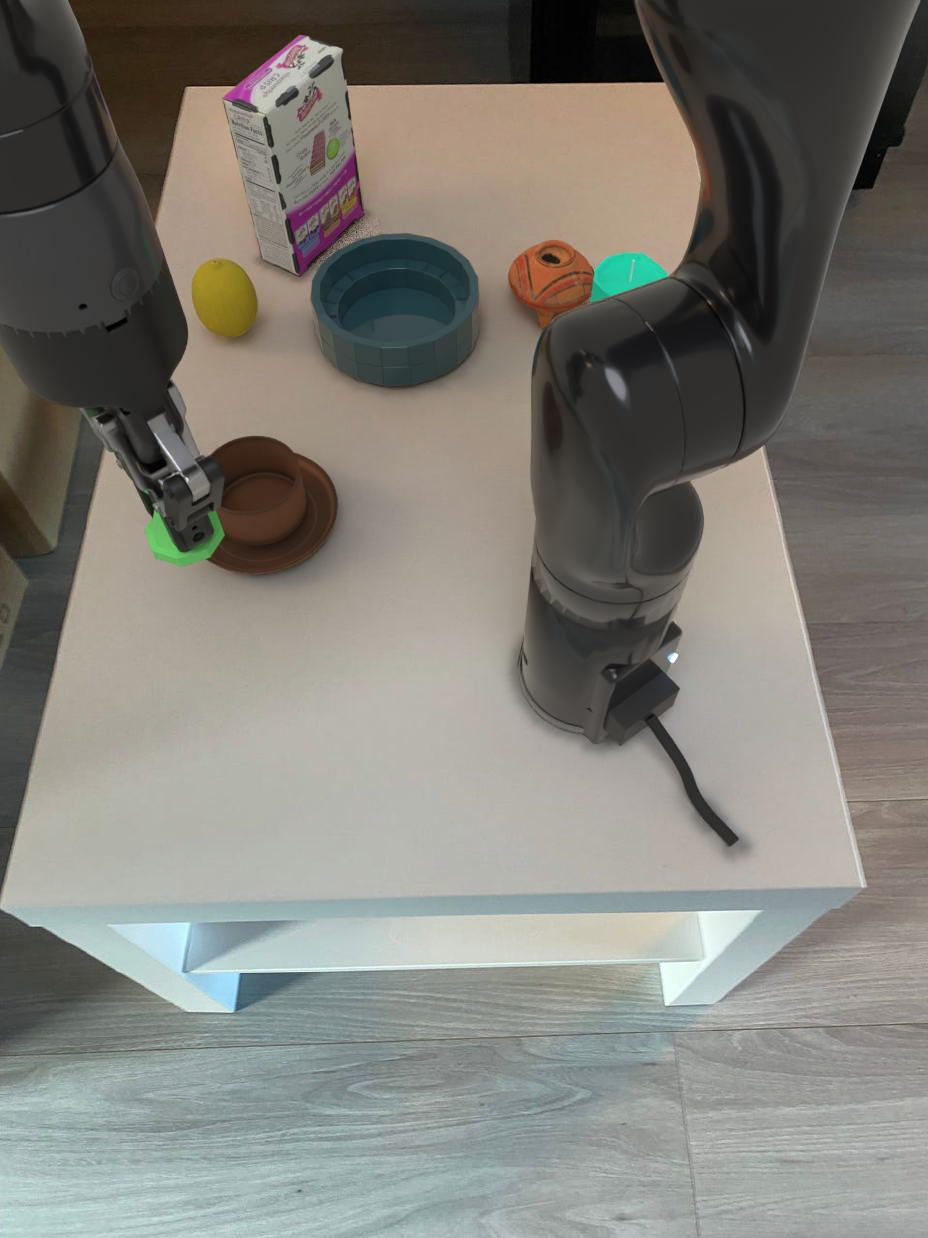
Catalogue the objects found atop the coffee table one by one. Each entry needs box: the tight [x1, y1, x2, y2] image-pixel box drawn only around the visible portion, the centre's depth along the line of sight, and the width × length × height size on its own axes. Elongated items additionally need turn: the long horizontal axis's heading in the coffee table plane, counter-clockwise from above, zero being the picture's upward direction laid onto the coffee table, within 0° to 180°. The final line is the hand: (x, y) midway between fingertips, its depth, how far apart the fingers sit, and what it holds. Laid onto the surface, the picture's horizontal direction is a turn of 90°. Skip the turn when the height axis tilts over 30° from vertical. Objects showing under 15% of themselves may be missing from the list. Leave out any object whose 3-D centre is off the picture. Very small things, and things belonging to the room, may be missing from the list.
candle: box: [589, 251, 669, 303], centre depth 79 cm, size 6×6×12 cm
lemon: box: [190, 257, 259, 338], centre depth 83 cm, size 6×6×8 cm
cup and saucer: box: [206, 435, 339, 575], centre depth 73 cm, size 12×12×6 cm
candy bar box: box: [221, 34, 365, 277], centre depth 87 cm, size 11×5×16 cm, turn 148°
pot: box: [507, 239, 595, 330], centre depth 86 cm, size 8×8×7 cm
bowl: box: [310, 232, 480, 387], centre depth 85 cm, size 15×15×5 cm
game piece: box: [144, 487, 225, 568], centre depth 51 cm, size 4×4×6 cm
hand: (182, 524), depth 53 cm, fingers closed on game piece, 2 cm apart
